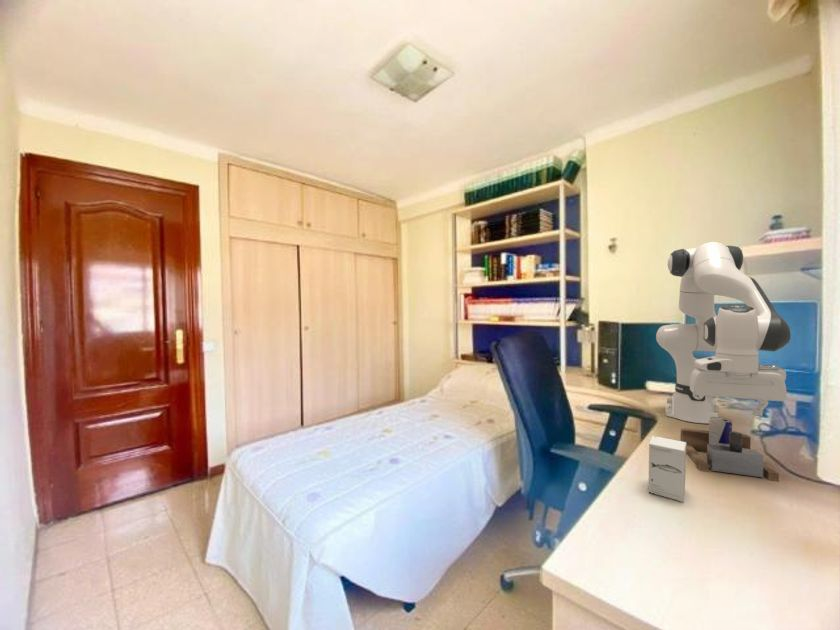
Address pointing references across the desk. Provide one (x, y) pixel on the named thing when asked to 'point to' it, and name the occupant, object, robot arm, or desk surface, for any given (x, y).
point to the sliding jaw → (735, 458)
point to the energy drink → (719, 431)
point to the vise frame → (698, 443)
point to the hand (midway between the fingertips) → (735, 413)
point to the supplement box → (667, 467)
